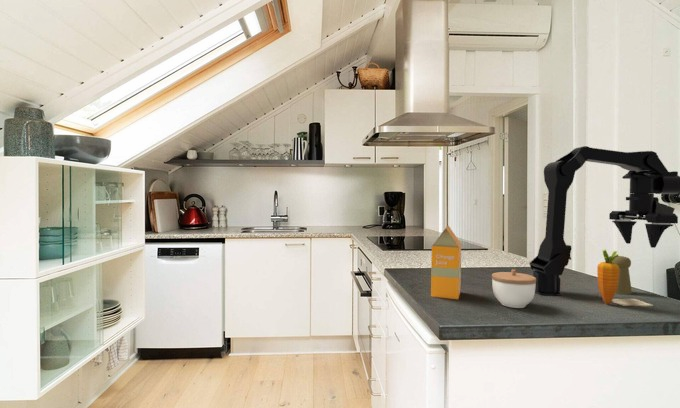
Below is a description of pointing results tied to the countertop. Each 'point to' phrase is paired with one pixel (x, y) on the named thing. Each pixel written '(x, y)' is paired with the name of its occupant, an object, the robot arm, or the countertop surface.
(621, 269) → the cork
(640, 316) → the countertop surface
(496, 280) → the lidded jar
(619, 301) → the beige rectangular sheet
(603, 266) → the carrot
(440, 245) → the orange juice
